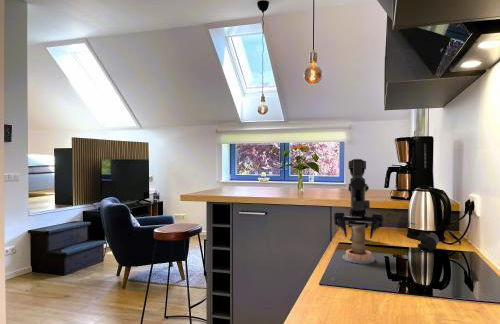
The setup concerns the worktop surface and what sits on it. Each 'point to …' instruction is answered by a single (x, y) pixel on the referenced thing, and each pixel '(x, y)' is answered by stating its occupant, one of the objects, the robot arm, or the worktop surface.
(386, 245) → the worktop surface
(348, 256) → the collar
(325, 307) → the worktop surface
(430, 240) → the end cap
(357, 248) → the walnut peg
